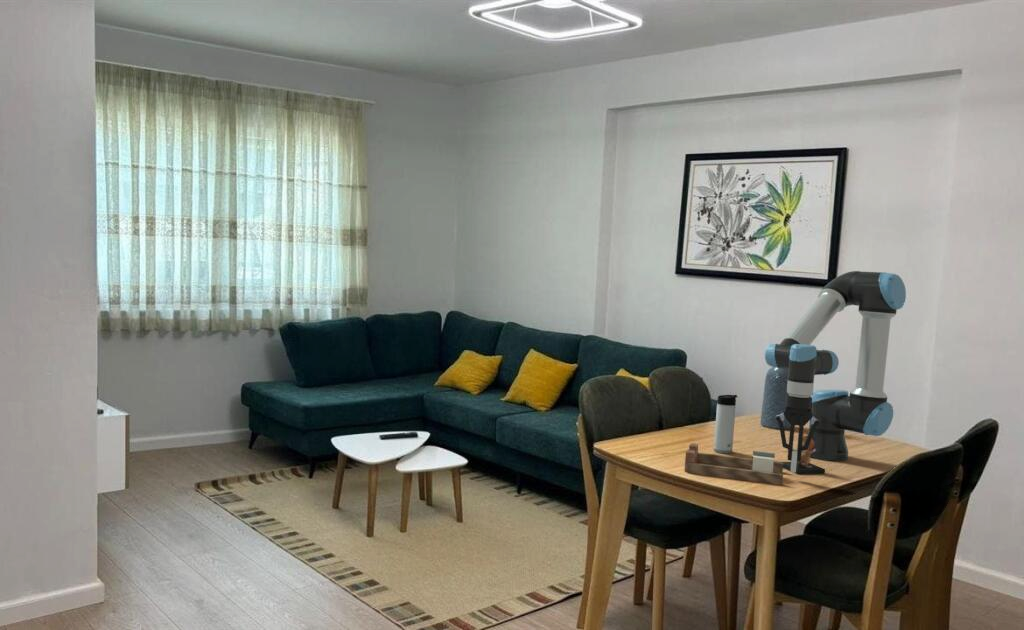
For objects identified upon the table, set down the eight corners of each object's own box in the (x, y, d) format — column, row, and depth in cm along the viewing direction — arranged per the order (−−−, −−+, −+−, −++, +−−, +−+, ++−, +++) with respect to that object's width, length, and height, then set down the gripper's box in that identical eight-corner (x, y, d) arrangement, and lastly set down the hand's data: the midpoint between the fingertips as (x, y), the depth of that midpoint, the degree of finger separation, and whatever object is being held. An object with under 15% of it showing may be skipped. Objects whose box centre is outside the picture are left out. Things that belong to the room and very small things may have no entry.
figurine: (824, 473, 269) (827, 436, 268) (797, 474, 266) (800, 437, 265) (805, 465, 279) (808, 429, 278) (778, 466, 276) (781, 430, 275)
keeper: (773, 474, 264) (774, 451, 263) (772, 478, 258) (774, 455, 257) (751, 471, 266) (753, 449, 265) (751, 476, 260) (752, 453, 259)
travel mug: (733, 454, 289) (738, 396, 287) (713, 452, 290) (718, 395, 288) (732, 450, 295) (736, 393, 293) (713, 448, 296) (717, 392, 294)
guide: (782, 471, 268) (783, 453, 268) (782, 485, 252) (783, 465, 252) (689, 460, 277) (691, 442, 276) (683, 472, 261) (685, 453, 260)
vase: (762, 428, 338) (767, 358, 336) (758, 422, 350) (763, 354, 348) (793, 430, 336) (799, 360, 334) (788, 425, 348) (794, 357, 346)
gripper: (821, 395, 259) (815, 471, 260) (777, 391, 263) (771, 465, 264) (822, 399, 252) (816, 477, 253) (777, 394, 256) (770, 471, 257)
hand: (793, 471), depth 259 cm, fingers closed
